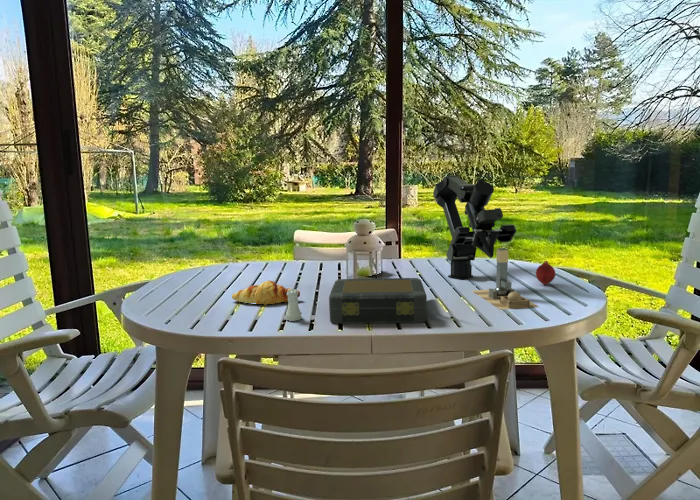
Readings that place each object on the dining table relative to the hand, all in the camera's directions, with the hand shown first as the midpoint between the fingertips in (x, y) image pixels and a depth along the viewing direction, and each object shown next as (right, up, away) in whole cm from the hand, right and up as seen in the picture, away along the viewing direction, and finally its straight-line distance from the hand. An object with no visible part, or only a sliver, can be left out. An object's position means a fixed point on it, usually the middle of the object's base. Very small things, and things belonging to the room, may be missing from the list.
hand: (491, 256), depth 143 cm
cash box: (-34, -15, -10) cm, 39 cm away
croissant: (-68, -14, +4) cm, 69 cm away
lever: (+2, -11, -7) cm, 13 cm away
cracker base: (+1, -13, -6) cm, 14 cm away
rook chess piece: (-57, -17, -15) cm, 61 cm away
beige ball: (+2, -13, -13) cm, 18 cm away
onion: (+21, -9, +13) cm, 27 cm away
